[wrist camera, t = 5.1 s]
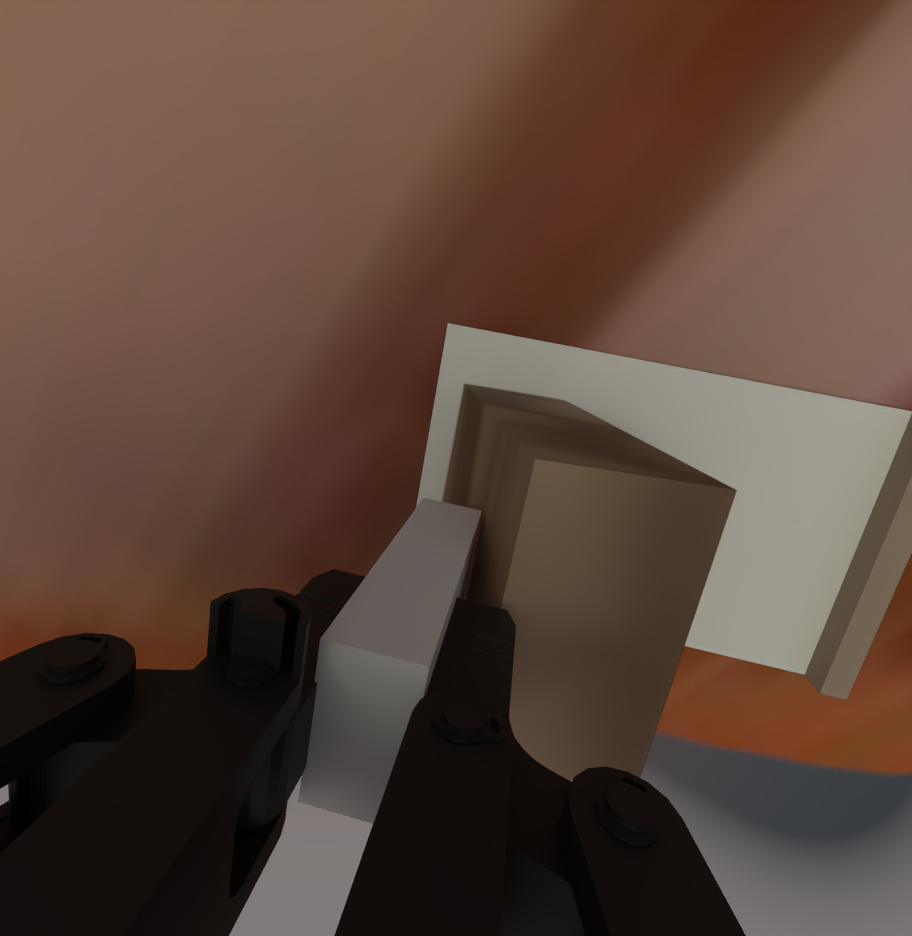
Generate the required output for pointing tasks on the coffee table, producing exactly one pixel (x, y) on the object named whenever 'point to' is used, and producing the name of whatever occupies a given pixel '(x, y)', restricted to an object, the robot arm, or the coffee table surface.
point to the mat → (738, 490)
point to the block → (583, 568)
